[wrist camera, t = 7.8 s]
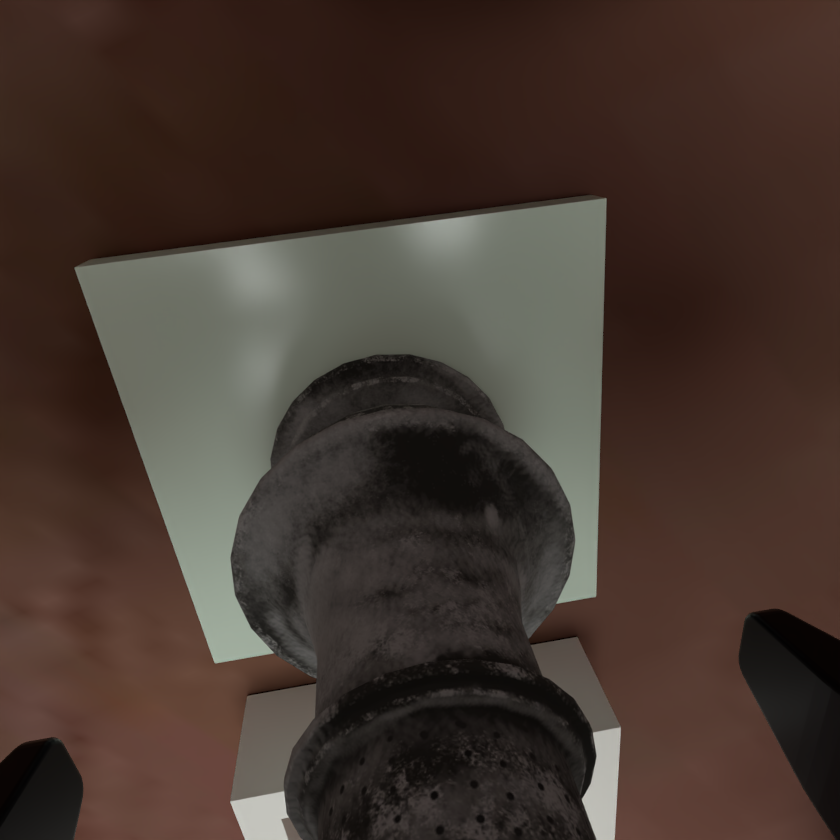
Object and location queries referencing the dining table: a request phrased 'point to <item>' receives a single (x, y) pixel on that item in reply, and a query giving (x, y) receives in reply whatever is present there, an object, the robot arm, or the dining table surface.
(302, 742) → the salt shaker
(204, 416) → the green tile
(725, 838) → the dining table surface
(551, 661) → the shaker holder
